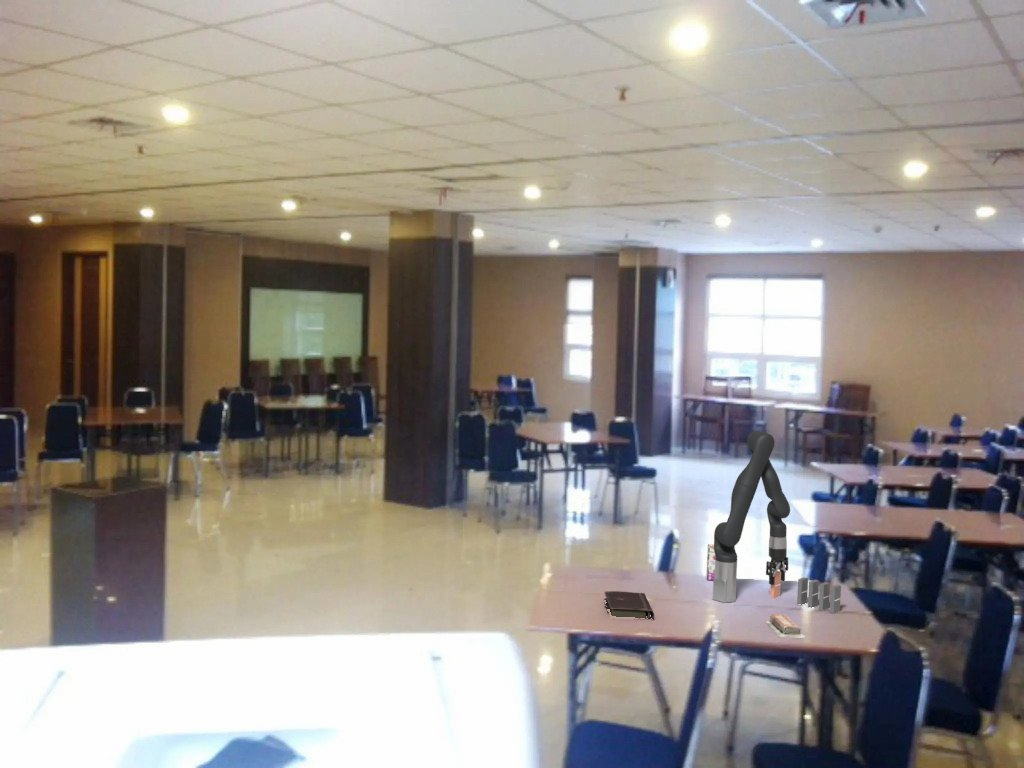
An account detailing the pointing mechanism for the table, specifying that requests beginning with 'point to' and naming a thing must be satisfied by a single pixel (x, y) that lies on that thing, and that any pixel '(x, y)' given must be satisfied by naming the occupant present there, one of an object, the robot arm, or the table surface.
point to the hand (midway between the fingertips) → (776, 582)
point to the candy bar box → (710, 563)
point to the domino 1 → (776, 585)
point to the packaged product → (784, 626)
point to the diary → (628, 604)
